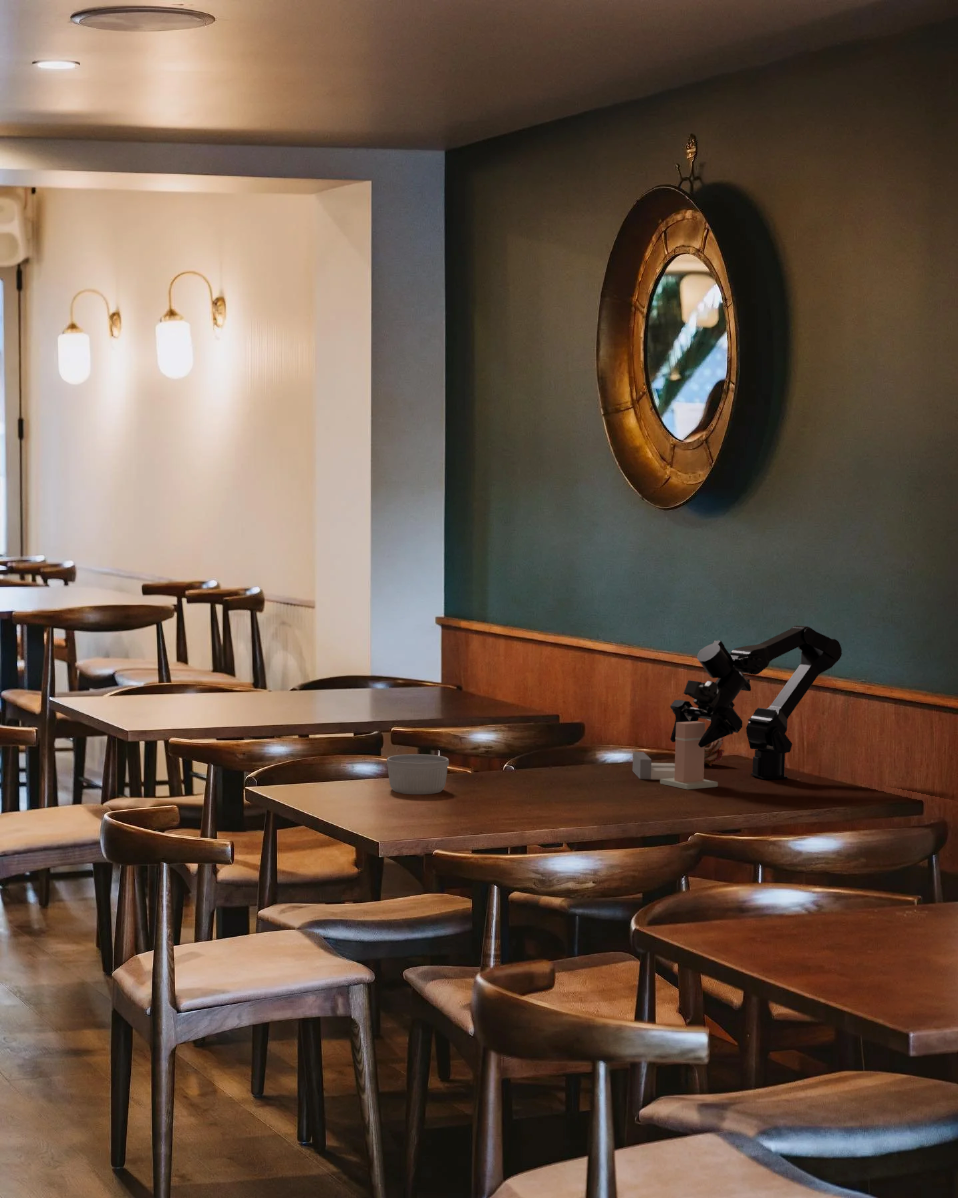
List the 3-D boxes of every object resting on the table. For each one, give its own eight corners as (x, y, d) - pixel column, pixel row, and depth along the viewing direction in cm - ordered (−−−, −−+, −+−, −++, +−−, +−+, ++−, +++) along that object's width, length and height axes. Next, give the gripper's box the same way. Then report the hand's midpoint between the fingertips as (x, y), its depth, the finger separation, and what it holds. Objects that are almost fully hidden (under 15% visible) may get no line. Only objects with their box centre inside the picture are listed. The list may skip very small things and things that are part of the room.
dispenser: (683, 772, 381) (683, 752, 381) (692, 780, 369) (692, 760, 369) (632, 771, 380) (633, 752, 380) (639, 779, 369) (640, 759, 368)
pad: (690, 780, 368) (690, 776, 368) (717, 786, 360) (717, 782, 360) (660, 783, 363) (660, 779, 363) (687, 789, 355) (687, 785, 355)
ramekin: (391, 796, 338) (391, 763, 337) (381, 786, 351) (382, 754, 350) (453, 795, 340) (454, 762, 340) (441, 785, 353) (442, 753, 353)
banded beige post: (694, 778, 364) (696, 721, 364) (703, 780, 362) (705, 722, 361) (674, 780, 361) (675, 722, 360) (683, 782, 358) (685, 724, 358)
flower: (681, 753, 400) (681, 730, 395) (717, 746, 401) (717, 722, 396) (693, 780, 393) (693, 756, 388) (729, 773, 393) (730, 749, 389)
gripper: (677, 664, 370) (639, 714, 365) (734, 671, 355) (695, 724, 349) (702, 697, 375) (664, 747, 369) (759, 705, 360) (721, 758, 354)
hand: (685, 743), depth 360 cm, fingers open, 9 cm apart
